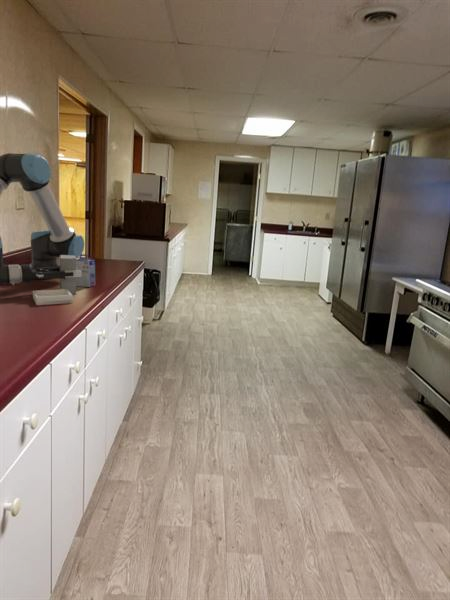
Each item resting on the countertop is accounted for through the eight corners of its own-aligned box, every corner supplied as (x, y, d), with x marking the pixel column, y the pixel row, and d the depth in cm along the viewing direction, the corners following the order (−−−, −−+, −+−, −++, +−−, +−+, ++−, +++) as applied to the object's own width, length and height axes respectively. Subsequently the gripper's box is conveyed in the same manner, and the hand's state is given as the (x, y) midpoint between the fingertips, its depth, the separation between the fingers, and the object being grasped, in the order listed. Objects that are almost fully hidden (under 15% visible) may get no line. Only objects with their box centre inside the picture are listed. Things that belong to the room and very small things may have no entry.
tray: (33, 298, 170) (32, 290, 170) (67, 295, 177) (66, 288, 176) (36, 305, 159) (36, 297, 159) (72, 302, 166) (72, 295, 165)
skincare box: (59, 291, 184) (57, 254, 181) (76, 290, 187) (75, 254, 184) (60, 295, 177) (58, 257, 173) (78, 294, 180) (76, 257, 176)
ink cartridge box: (96, 285, 200) (95, 254, 197) (90, 287, 195) (89, 256, 192) (77, 283, 202) (75, 253, 199) (70, 285, 197) (69, 254, 193)
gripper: (19, 278, 181) (74, 276, 192) (23, 288, 163) (84, 284, 174) (18, 261, 180) (74, 259, 191) (22, 268, 162) (84, 266, 172)
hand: (79, 271), depth 182 cm, fingers closed on skincare box, 8 cm apart
